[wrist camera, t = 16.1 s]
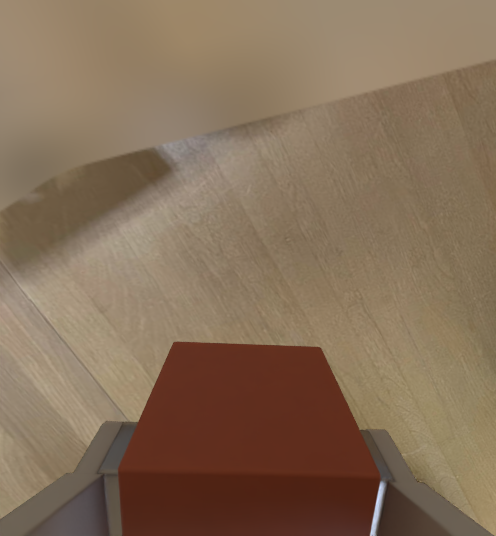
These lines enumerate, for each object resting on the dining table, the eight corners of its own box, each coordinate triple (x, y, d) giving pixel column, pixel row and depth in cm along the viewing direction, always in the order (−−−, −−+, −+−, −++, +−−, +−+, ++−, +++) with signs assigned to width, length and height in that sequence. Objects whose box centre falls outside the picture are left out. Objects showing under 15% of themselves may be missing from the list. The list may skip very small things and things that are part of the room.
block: (173, 340, 10) (115, 468, 5) (321, 345, 10) (383, 475, 5) (174, 461, 11) (128, 649, 6) (307, 465, 11) (349, 652, 7)
